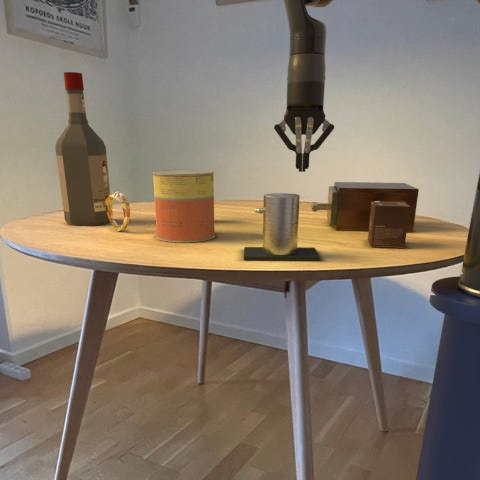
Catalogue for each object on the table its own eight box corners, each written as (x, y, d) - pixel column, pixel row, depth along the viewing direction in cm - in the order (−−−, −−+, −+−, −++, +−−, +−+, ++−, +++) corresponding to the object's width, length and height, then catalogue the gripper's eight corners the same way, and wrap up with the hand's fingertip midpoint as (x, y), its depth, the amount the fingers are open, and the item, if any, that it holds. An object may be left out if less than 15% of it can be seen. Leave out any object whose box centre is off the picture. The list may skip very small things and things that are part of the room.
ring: (135, 232, 94) (132, 191, 91) (120, 234, 92) (117, 192, 89) (118, 227, 99) (115, 188, 96) (104, 229, 97) (100, 189, 94)
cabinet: (335, 230, 97) (339, 187, 94) (331, 219, 110) (334, 181, 107) (413, 232, 96) (419, 188, 93) (399, 221, 108) (404, 182, 105)
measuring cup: (252, 254, 74) (253, 196, 71) (255, 247, 79) (256, 192, 76) (296, 256, 73) (299, 197, 70) (296, 248, 79) (299, 193, 75)
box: (405, 248, 81) (410, 205, 79) (369, 247, 82) (373, 204, 80) (400, 241, 87) (405, 201, 84) (367, 240, 88) (371, 200, 85)
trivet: (314, 250, 80) (314, 247, 79) (320, 260, 73) (320, 257, 73) (244, 250, 80) (244, 246, 80) (243, 260, 73) (243, 256, 73)
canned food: (226, 236, 91) (226, 171, 87) (183, 245, 83) (180, 175, 79) (188, 229, 98) (185, 169, 94) (144, 236, 90) (139, 171, 86)
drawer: (311, 225, 98) (313, 191, 96) (309, 215, 110) (311, 185, 107) (401, 227, 96) (405, 193, 94) (390, 217, 108) (394, 187, 105)
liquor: (62, 225, 101) (41, 70, 90) (75, 218, 110) (58, 75, 99) (104, 225, 101) (88, 70, 90) (114, 219, 110) (101, 76, 99)
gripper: (272, 80, 91) (270, 172, 98) (340, 78, 90) (334, 172, 96) (274, 84, 98) (272, 170, 105) (337, 83, 97) (332, 170, 103)
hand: (302, 171), depth 100 cm, fingers closed
